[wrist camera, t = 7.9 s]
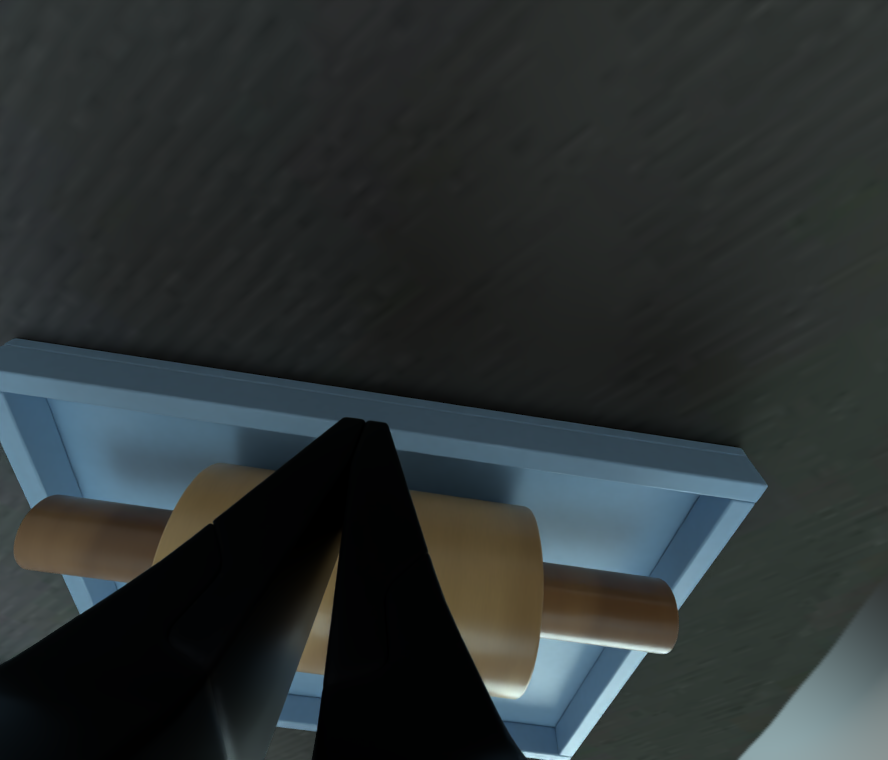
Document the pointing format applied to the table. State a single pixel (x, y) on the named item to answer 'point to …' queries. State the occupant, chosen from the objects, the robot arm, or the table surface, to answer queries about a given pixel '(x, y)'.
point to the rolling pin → (449, 545)
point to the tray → (425, 469)
